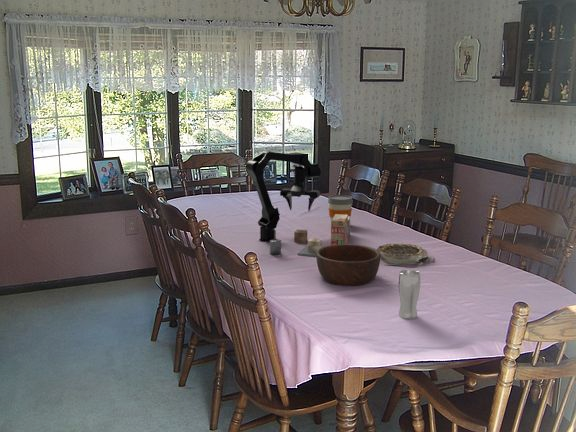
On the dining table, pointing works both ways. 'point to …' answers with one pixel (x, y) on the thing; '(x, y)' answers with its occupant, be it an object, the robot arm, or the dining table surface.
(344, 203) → the reusable coffee cup
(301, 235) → the rectangular block
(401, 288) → the beer glass
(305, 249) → the slate mat
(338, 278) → the wooden bowl
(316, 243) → the ash block
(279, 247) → the dark metal cylinder
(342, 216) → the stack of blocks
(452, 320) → the dining table surface
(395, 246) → the pie
